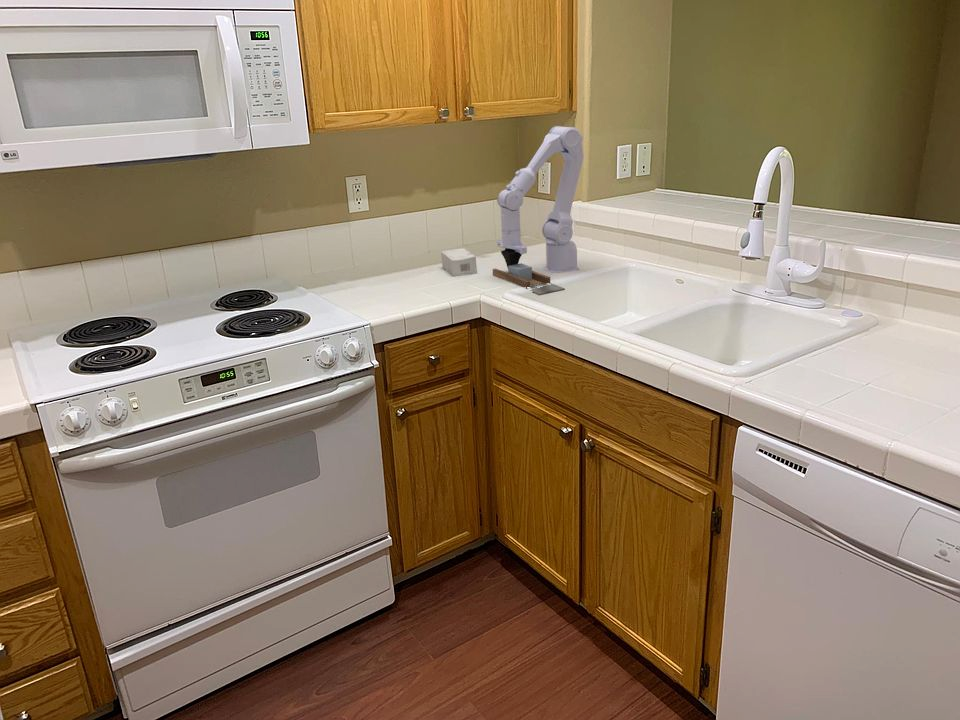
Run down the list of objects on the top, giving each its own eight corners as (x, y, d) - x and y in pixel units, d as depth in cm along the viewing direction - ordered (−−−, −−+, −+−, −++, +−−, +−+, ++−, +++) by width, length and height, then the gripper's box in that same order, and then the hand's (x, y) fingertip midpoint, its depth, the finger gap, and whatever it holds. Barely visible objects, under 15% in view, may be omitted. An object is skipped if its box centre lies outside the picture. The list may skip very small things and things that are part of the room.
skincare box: (452, 260, 230) (439, 250, 243) (454, 278, 232) (441, 267, 245) (477, 256, 232) (463, 246, 245) (478, 274, 235) (464, 263, 248)
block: (521, 275, 228) (521, 263, 227) (532, 279, 223) (531, 266, 222) (508, 278, 226) (508, 265, 225) (518, 282, 221) (518, 269, 220)
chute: (516, 271, 235) (515, 264, 234) (564, 289, 213) (564, 281, 212) (492, 276, 231) (491, 269, 230) (539, 295, 209) (538, 287, 208)
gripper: (488, 227, 227) (490, 270, 232) (512, 234, 215) (513, 279, 220) (507, 224, 230) (509, 266, 235) (532, 231, 218) (533, 275, 223)
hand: (512, 272), depth 228 cm, fingers closed
